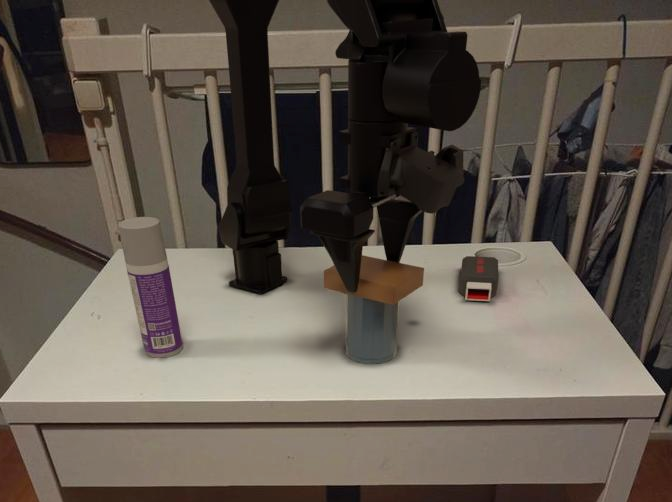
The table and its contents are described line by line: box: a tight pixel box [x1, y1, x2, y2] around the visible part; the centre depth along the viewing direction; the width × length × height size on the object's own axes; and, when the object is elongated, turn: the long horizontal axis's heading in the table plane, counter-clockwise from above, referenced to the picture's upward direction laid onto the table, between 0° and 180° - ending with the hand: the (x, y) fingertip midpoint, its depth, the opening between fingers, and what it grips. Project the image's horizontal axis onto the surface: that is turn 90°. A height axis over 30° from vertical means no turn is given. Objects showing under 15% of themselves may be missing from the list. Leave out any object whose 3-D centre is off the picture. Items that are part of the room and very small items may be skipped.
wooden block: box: [323, 254, 425, 305], centre depth 69 cm, size 9×6×2 cm
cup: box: [345, 293, 400, 365], centre depth 72 cm, size 6×6×8 cm
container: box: [117, 216, 184, 359], centre depth 72 cm, size 5×5×15 cm
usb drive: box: [458, 255, 499, 302], centre depth 89 cm, size 5×12×3 cm, turn 167°
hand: (373, 279), depth 69 cm, fingers open, 8 cm apart
